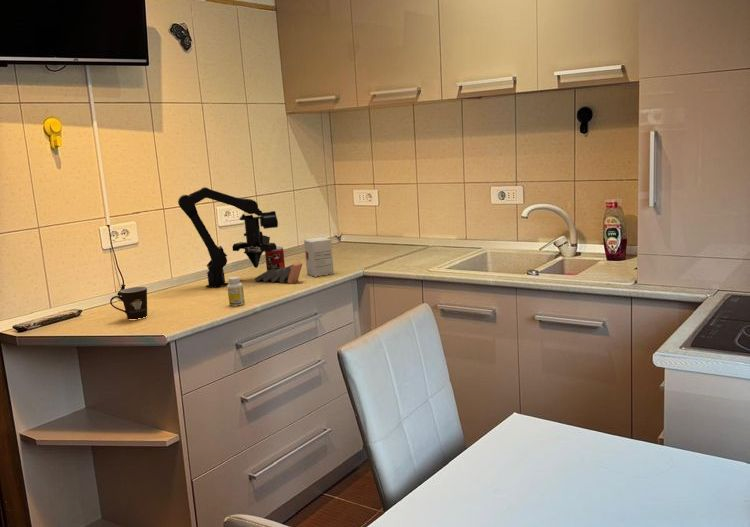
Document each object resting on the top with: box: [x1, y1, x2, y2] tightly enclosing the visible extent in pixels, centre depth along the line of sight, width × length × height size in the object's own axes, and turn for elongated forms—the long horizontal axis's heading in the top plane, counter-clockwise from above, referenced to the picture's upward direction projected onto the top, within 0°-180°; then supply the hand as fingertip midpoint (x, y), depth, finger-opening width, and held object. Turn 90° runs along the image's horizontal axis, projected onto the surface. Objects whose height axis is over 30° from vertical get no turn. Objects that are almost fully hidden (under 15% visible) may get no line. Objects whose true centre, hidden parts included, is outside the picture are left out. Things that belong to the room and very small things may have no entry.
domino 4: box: [278, 264, 292, 284], centre depth 281 cm, size 5×2×8 cm
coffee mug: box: [109, 286, 148, 320], centre depth 239 cm, size 12×9×10 cm
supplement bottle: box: [226, 276, 245, 307], centre depth 249 cm, size 5×5×10 cm
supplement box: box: [303, 236, 335, 278], centre depth 292 cm, size 9×9×15 cm
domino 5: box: [287, 261, 303, 284], centre depth 279 cm, size 5×2×8 cm, turn 152°
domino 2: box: [262, 268, 282, 283], centre depth 285 cm, size 5×2×8 cm
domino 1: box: [253, 268, 275, 283], centre depth 287 cm, size 5×2×8 cm
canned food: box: [264, 245, 286, 271], centre depth 302 cm, size 8×8×11 cm
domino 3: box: [270, 266, 288, 284], centre depth 283 cm, size 5×2×8 cm
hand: (256, 267), depth 288 cm, fingers closed
